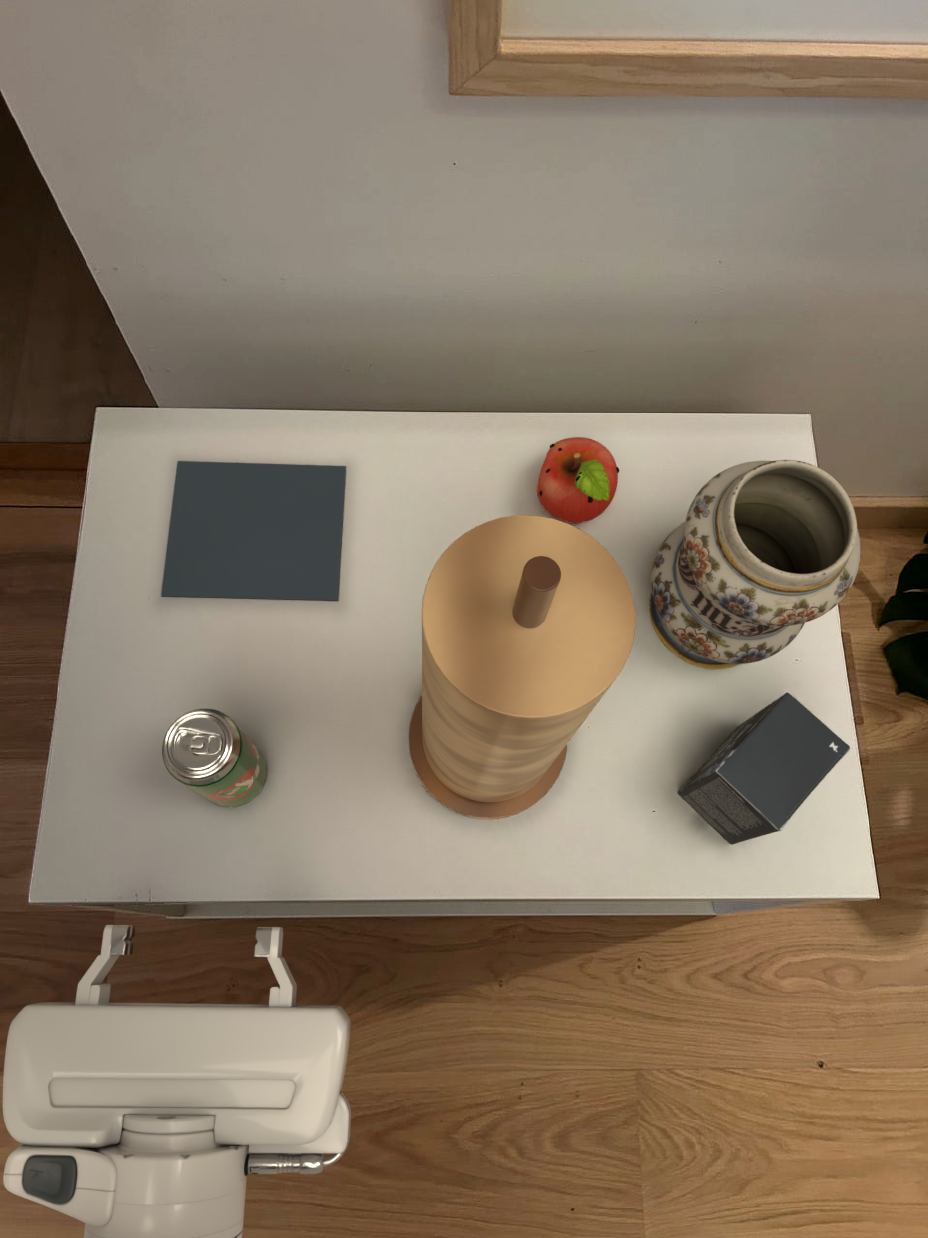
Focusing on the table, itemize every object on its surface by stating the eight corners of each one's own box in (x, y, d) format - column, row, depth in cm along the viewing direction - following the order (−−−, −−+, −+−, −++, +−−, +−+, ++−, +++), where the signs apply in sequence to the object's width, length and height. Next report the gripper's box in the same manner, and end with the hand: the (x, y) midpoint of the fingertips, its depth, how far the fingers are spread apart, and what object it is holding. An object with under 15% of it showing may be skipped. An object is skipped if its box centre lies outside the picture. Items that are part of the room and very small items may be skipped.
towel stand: (406, 818, 70) (392, 711, 37) (411, 663, 74) (402, 440, 41) (566, 820, 70) (695, 718, 37) (563, 666, 74) (676, 449, 41)
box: (739, 722, 73) (789, 689, 63) (795, 774, 72) (855, 748, 62) (673, 793, 71) (714, 770, 61) (730, 848, 70) (781, 833, 60)
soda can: (204, 739, 71) (162, 702, 60) (271, 742, 71) (242, 706, 60) (196, 807, 70) (151, 782, 58) (264, 809, 70) (234, 785, 58)
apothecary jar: (802, 667, 75) (914, 587, 58) (658, 695, 74) (729, 623, 57) (756, 530, 79) (849, 418, 62) (618, 556, 77) (674, 448, 60)
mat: (161, 596, 75) (161, 595, 75) (178, 461, 79) (177, 460, 78) (338, 601, 75) (338, 600, 75) (346, 467, 79) (345, 465, 79)
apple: (511, 494, 79) (523, 434, 69) (573, 451, 80) (594, 387, 71) (569, 562, 77) (589, 510, 68) (632, 517, 79) (660, 460, 69)
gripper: (343, 1188, 53) (356, 927, 57) (-28, 1186, 52) (14, 923, 56) (352, 1162, 59) (362, 928, 63) (18, 1160, 58) (53, 924, 62)
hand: (195, 926), depth 60 cm, fingers open, 8 cm apart
